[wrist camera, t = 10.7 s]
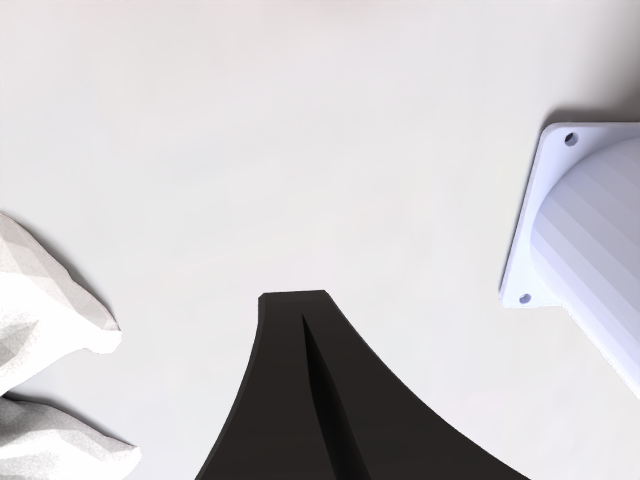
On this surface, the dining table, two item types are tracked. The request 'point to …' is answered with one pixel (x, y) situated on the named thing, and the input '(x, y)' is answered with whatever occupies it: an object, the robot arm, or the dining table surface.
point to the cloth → (38, 352)
